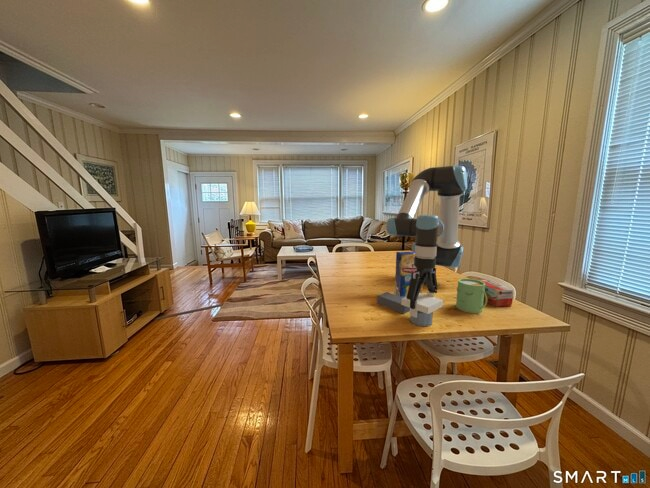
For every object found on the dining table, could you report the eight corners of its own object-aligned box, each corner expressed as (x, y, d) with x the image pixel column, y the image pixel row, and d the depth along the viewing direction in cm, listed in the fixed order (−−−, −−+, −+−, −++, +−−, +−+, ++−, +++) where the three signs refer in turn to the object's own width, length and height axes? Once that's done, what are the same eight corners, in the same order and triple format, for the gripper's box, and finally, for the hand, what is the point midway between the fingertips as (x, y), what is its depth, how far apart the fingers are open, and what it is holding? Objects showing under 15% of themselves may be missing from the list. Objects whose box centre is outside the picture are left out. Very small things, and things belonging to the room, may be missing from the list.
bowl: (417, 314, 104) (417, 303, 104) (436, 321, 98) (436, 309, 98) (406, 320, 99) (406, 308, 99) (425, 328, 93) (426, 315, 92)
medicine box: (512, 306, 113) (514, 289, 112) (495, 307, 112) (497, 290, 111) (486, 294, 128) (487, 279, 126) (471, 295, 127) (473, 280, 125)
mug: (450, 306, 113) (452, 280, 111) (466, 302, 117) (468, 277, 116) (476, 317, 102) (479, 289, 100) (493, 313, 106) (496, 285, 104)
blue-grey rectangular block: (386, 300, 120) (386, 292, 120) (413, 309, 110) (413, 300, 109) (377, 303, 116) (377, 295, 115) (403, 314, 105) (404, 304, 105)
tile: (416, 298, 105) (417, 292, 105) (442, 306, 97) (443, 300, 97) (401, 304, 99) (401, 298, 98) (428, 314, 90) (428, 307, 90)
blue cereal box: (421, 298, 122) (424, 254, 118) (399, 299, 121) (401, 254, 117) (415, 293, 128) (417, 251, 125) (394, 294, 127) (396, 251, 124)
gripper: (431, 251, 105) (428, 301, 108) (398, 259, 90) (395, 317, 94) (449, 254, 99) (445, 307, 103) (417, 263, 84) (413, 324, 88)
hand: (421, 312), depth 98 cm, fingers closed on tile, 11 cm apart
